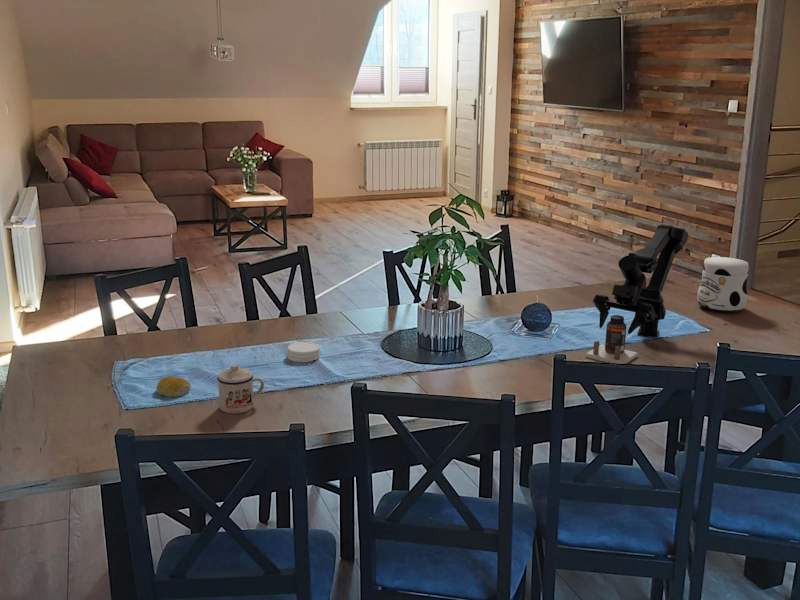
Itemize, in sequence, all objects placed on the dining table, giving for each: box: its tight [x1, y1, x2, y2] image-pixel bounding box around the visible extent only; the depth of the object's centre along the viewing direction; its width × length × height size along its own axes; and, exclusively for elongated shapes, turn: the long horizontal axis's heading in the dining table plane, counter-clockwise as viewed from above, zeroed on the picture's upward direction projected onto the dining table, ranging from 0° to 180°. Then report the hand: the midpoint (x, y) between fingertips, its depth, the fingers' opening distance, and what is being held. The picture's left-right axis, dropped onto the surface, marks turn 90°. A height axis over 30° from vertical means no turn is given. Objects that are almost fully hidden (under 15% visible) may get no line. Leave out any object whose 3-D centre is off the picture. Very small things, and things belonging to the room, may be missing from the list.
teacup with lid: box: [216, 364, 265, 415], centre depth 209 cm, size 12×9×12 cm
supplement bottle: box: [604, 314, 627, 354], centre depth 249 cm, size 6×6×11 cm
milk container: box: [696, 256, 750, 313], centre depth 297 cm, size 17×17×18 cm
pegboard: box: [585, 340, 638, 364], centre depth 249 cm, size 11×12×5 cm
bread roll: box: [156, 376, 191, 398], centre depth 219 cm, size 8×9×4 cm
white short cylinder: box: [286, 341, 321, 363], centre depth 246 cm, size 10×10×4 cm
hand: (614, 330), depth 247 cm, fingers open, 9 cm apart
